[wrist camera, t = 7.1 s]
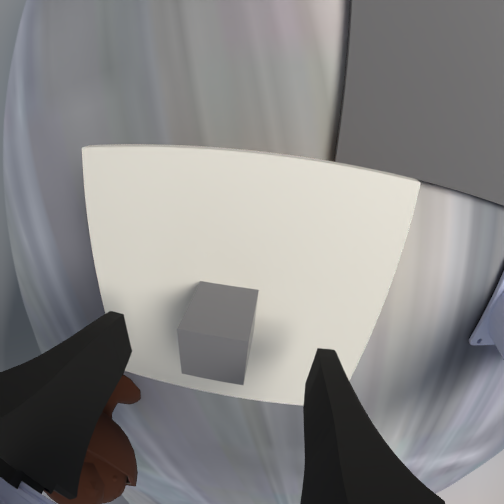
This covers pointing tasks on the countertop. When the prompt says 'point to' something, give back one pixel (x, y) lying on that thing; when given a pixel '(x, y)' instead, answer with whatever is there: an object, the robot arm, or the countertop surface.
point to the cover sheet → (242, 261)
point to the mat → (426, 92)
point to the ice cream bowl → (107, 455)
